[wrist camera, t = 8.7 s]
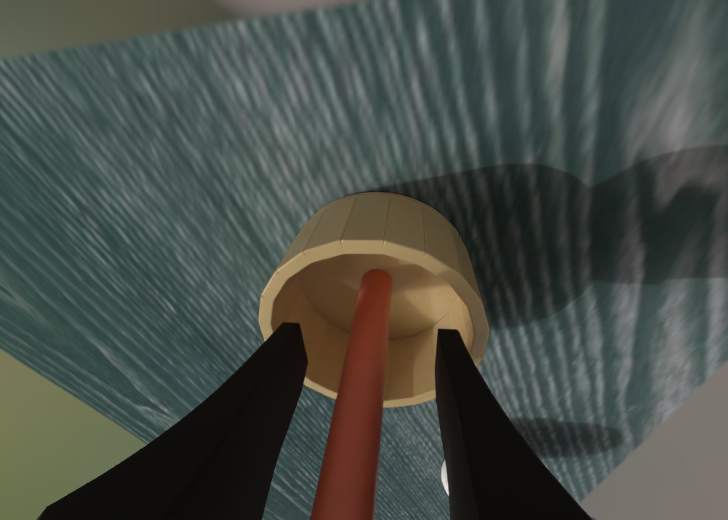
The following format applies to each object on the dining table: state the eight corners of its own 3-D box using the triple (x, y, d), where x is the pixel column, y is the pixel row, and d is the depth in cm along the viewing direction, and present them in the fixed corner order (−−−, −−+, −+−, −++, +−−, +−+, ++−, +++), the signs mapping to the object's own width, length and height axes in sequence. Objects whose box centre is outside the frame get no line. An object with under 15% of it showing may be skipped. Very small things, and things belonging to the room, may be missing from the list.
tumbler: (460, 342, 17) (472, 414, 13) (306, 334, 18) (282, 400, 14) (481, 189, 12) (508, 240, 9) (276, 192, 13) (231, 239, 10)
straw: (392, 294, 15) (364, 685, 6) (362, 293, 15) (287, 671, 6) (392, 269, 14) (358, 672, 5) (360, 268, 14) (271, 656, 5)
